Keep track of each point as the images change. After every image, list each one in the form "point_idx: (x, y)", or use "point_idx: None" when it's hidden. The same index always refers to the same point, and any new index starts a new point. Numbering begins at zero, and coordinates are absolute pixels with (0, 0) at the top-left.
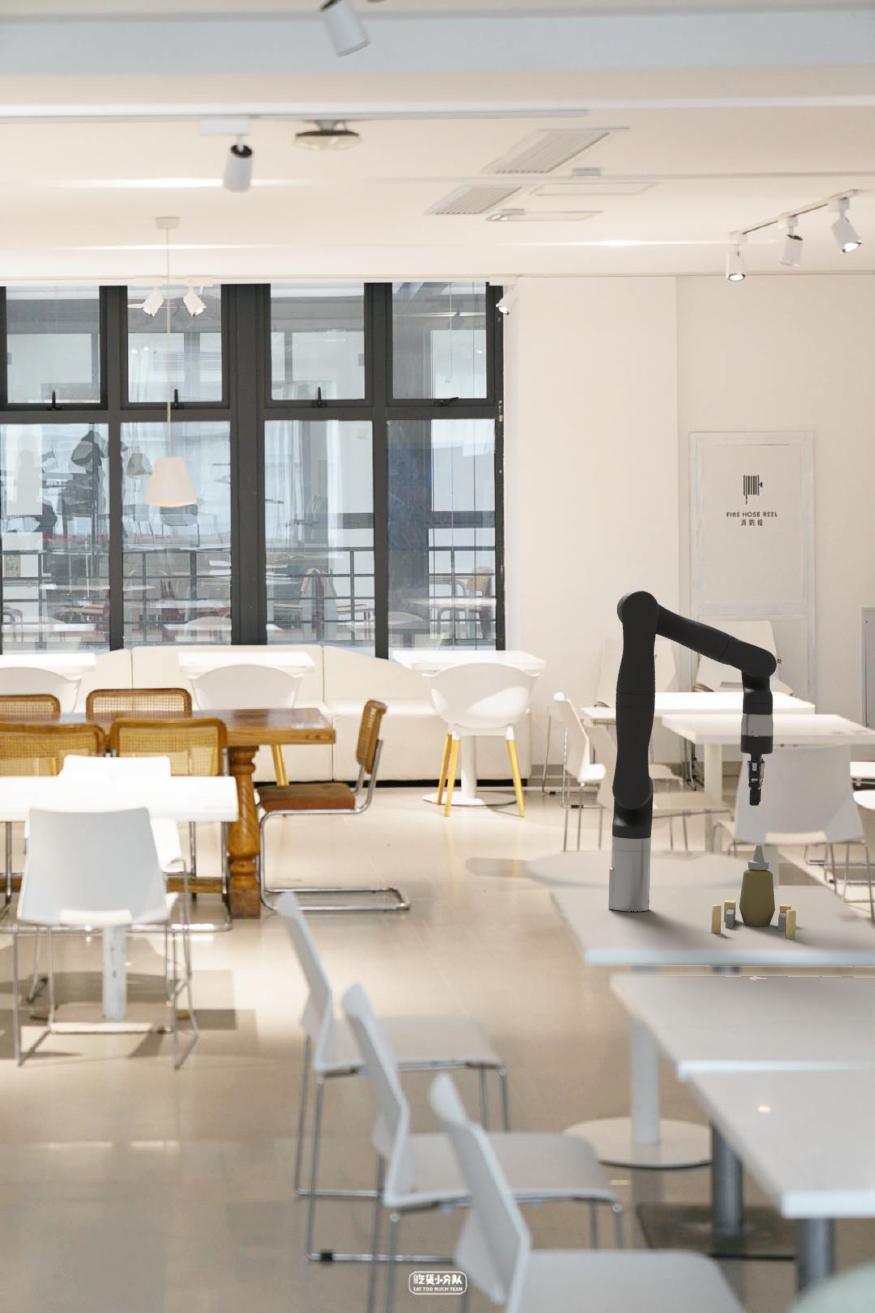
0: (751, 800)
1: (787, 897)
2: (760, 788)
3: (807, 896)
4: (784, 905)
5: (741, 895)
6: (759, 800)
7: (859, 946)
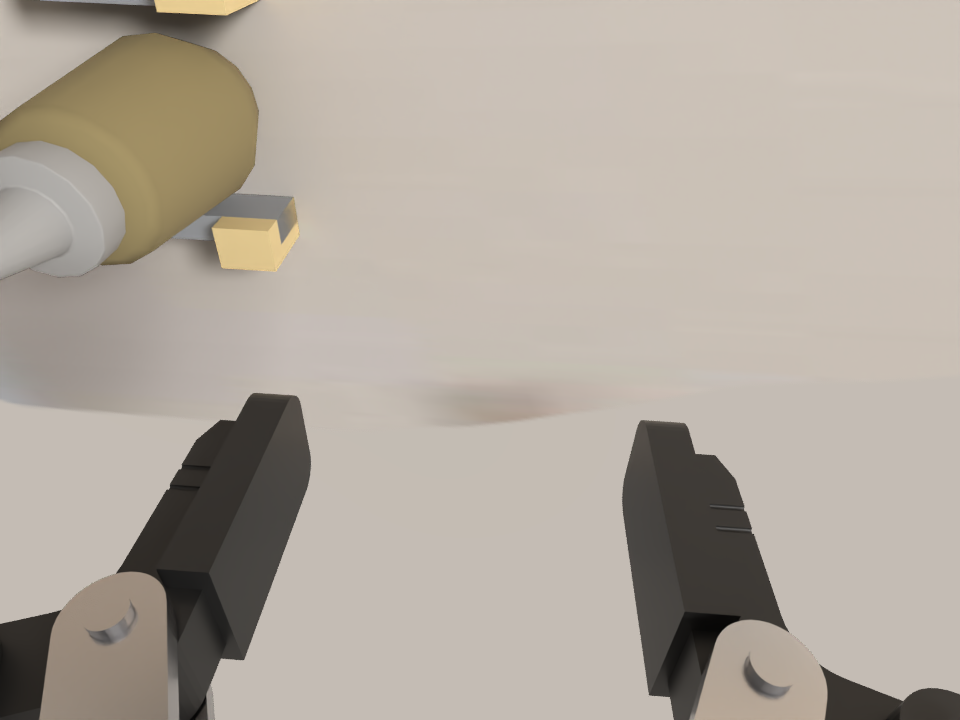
0: (193, 452)
1: (913, 237)
2: (651, 673)
3: (937, 312)
4: (233, 246)
5: (87, 60)
6: (628, 508)
7: (68, 399)
